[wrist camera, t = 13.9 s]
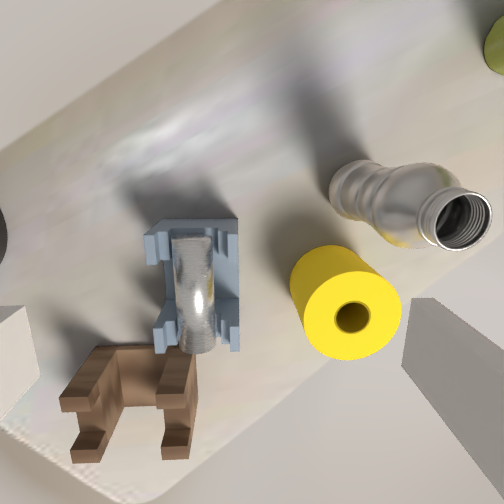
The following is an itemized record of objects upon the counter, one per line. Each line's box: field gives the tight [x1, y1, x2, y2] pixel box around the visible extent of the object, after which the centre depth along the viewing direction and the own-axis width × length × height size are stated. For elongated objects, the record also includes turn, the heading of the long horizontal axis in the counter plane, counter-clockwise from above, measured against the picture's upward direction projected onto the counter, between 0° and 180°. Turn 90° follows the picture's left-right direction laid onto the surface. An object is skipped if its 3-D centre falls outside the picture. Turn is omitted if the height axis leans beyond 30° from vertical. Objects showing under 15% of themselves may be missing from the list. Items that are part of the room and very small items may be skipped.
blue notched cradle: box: [143, 218, 240, 354], centre depth 37 cm, size 9×13×8 cm
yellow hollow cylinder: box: [289, 245, 401, 360], centre depth 38 cm, size 10×10×9 cm
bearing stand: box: [59, 344, 198, 464], centre depth 40 cm, size 9×13×10 cm
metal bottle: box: [329, 160, 492, 251], centre depth 29 cm, size 6×7×20 cm
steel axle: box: [171, 233, 216, 354], centre depth 34 cm, size 12×4×4 cm, turn 0°
